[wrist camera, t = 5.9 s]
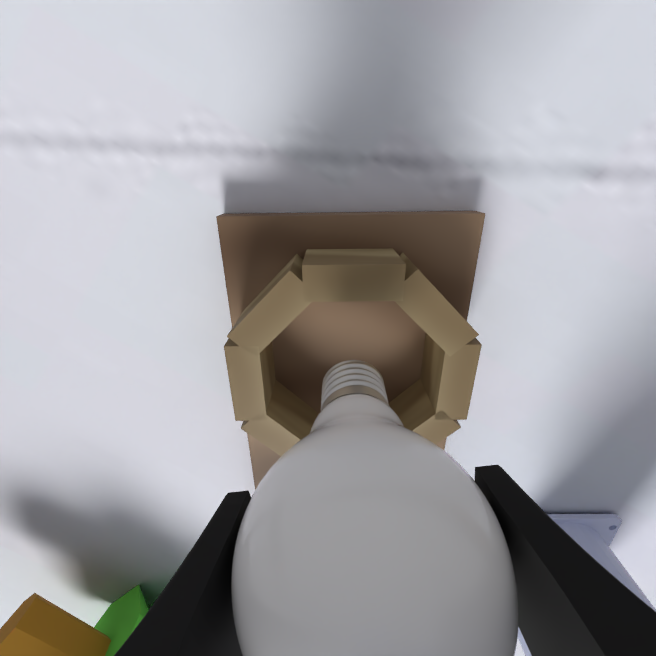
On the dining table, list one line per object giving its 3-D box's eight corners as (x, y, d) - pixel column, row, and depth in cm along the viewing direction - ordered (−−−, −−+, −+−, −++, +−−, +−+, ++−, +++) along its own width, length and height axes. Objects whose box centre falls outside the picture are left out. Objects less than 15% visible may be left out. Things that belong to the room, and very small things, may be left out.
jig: (427, 501, 24) (445, 562, 21) (262, 502, 24) (249, 563, 21) (474, 210, 16) (520, 222, 12) (223, 213, 16) (191, 225, 12)
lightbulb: (328, 450, 17) (319, 840, 7) (253, 356, 15) (90, 736, 5) (445, 398, 16) (641, 798, 6) (382, 285, 13) (525, 621, 3)
